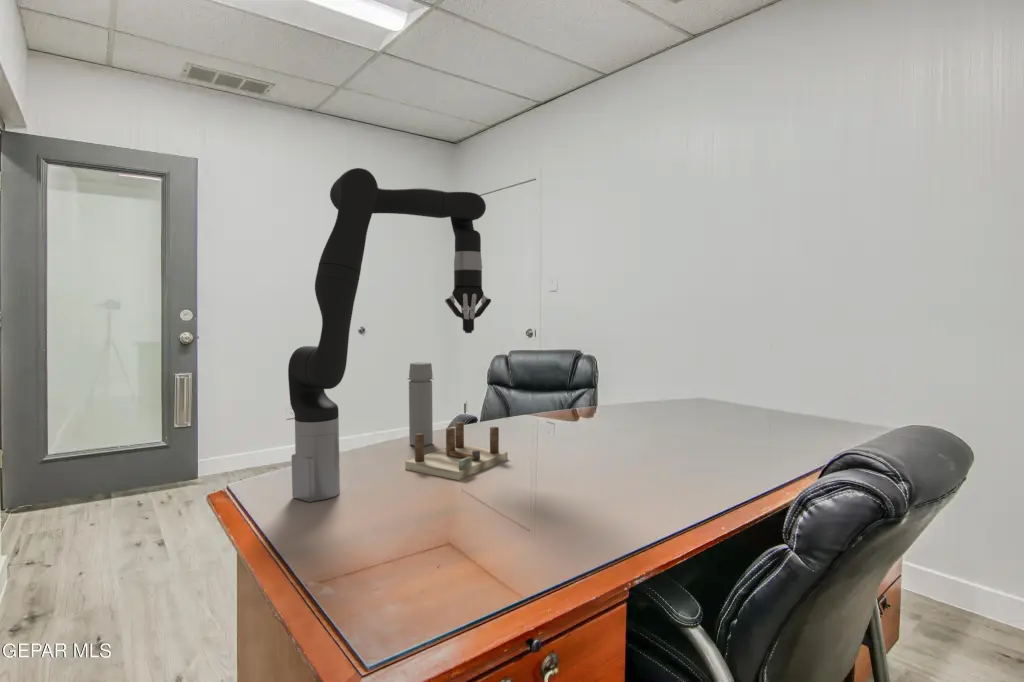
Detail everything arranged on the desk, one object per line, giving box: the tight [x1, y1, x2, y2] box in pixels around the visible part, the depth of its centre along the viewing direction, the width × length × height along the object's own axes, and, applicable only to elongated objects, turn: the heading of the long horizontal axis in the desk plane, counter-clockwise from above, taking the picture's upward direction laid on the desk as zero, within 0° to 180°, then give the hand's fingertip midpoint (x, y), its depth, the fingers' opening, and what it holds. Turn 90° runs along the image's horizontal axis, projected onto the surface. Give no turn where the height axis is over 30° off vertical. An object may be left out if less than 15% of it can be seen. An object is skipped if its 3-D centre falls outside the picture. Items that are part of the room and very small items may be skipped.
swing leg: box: [445, 427, 480, 460], centre depth 147 cm, size 11×2×7 cm, turn 58°
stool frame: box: [404, 421, 509, 481], centre depth 148 cm, size 22×17×9 cm
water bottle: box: [407, 361, 434, 447], centre depth 170 cm, size 9×8×25 cm
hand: (468, 332), depth 151 cm, fingers closed
